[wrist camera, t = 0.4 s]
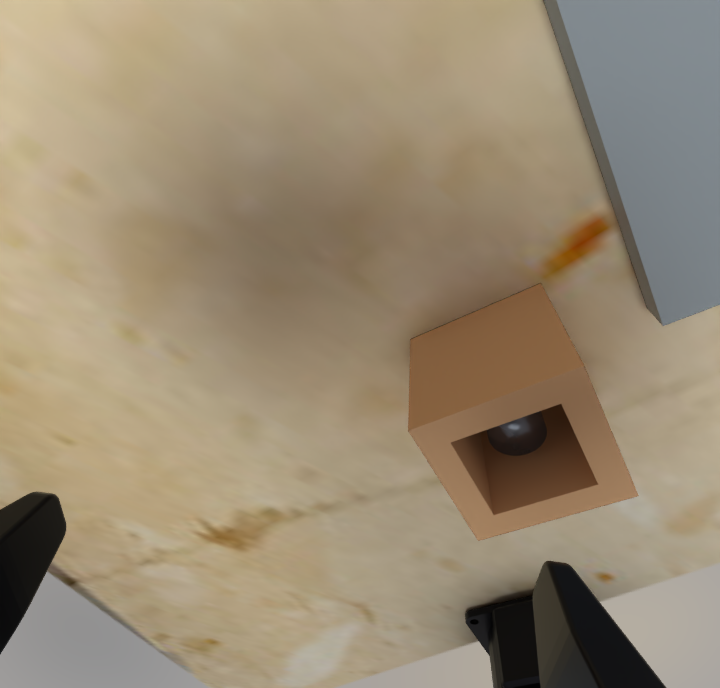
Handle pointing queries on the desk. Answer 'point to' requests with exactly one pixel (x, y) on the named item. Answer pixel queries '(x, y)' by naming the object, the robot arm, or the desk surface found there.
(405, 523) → the desk surface
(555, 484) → the brown square box
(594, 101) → the board
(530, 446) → the dark grey cylinder
